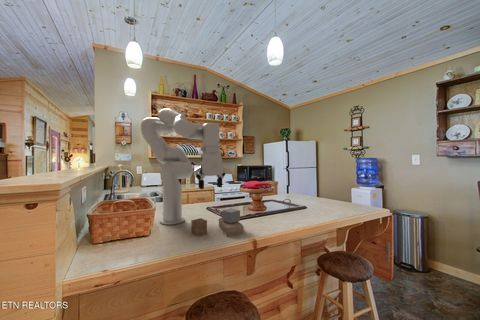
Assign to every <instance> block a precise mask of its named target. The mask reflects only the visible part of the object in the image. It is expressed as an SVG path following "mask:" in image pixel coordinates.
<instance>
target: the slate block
mask: <svg viewBox="0 0 480 320" xmlns="http://www.w3.org/2000/svg"><path fill="white" fill-rule="evenodd" d="M221 211H222V213H221V218H222V221H225V222H228V223H234V222H240V221H241V210H240V209H238V208H237V209H236V208H232V207H231V208H227V209H222V210H221Z"/></svg>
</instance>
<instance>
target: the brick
mask: <svg viewBox="0 0 480 320" xmlns="http://www.w3.org/2000/svg"><path fill="white" fill-rule="evenodd" d="M218 227H219V228H220V229H221V231H222V233H224V235H225V236H226V237H235V236H244V232H245V230H244V227H245V226H244V225H243V224H242V223H241V222H240V221H238V222H234V223H228V222H225V221H222V217H219V218H218Z"/></svg>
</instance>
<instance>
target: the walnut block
mask: <svg viewBox="0 0 480 320" xmlns="http://www.w3.org/2000/svg"><path fill="white" fill-rule="evenodd" d="M190 224H191V225H190V226H191V227H190V233H191V235H194V236H196V237H200V236H201V237H202V236H204V235H206V234H207V233H208V220H207V219H204V218H202V217H200V218H199V217H198V218H196V219H193V220H191V223H190ZM207 235H208V234H207Z"/></svg>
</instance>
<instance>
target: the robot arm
mask: <svg viewBox="0 0 480 320" xmlns="http://www.w3.org/2000/svg"><path fill="white" fill-rule="evenodd" d="M157 116H158V117H151V116H150V117H146V118H145V117H144V119H142V121H141V123H140V132H141V136H143V139H144V140H145V142H146V143H147V144H148V146H149V147H150V149H151V151H152V153H153V155H154V156H155V159H156V161H157V162H158V163H159V164H162V165H161V167H160V175H161V181H162V212H161V213H162V218H160V219H159V223H160V224H161V225H166V226H167V225H172V226H173V225H178V224H182V223H184V221H185V220H186V218H185V217H184V216H183V215H182V213H183V212H182V210H183V208H182V207H183V201H182V200H183V199H182V198H183V197H182V196H183V194H182V193H183V192H182V189H183V187H182V184H181V182H180V181H179V180H182V179H183V180H184V179H189V178H190V177H192V175H193V173H194V177H195V178H196V179H197V180H198V189H200V190H204V189H205V181H204V178H205V177H212V176H213V177H214V176H217V179H216V187H217V188H223V179H224V177H225V176H226V174H227V171H228V169H227V168H226V167H224V166H223V159H222V158H223V157H222V154H221V153H220V132H221V131H220V128H221V127H220V124H219V123H216V122H215V123H214V122H206V123H204V124H202V123H197V122H196V123H195V122H191V121H188V118H187V117H186V115H185V113H184V112H183V111H181V110H178V109H173V108H168V107H166V108H162V109H160V110H159V111H158V115H157ZM173 132H174V133H176V134H177V135H178V136H180V137H182V138H184V139H187V140H197V141H202V147H200V151H201V152H202V153H201V154H200V160H199V166H198V167H196V168H193V165H192V163H191V162H190V159H189V158H188V156H187V154H186V153H185V152H184V150H183V149H182V148H181V147H178V146H170V145H168V144H167V142H166V140H165V139H164V137H162V136H161V135H162V134H163V135H168V134H169V135H170V134H172V133H173ZM160 134H161V135H160Z"/></svg>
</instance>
